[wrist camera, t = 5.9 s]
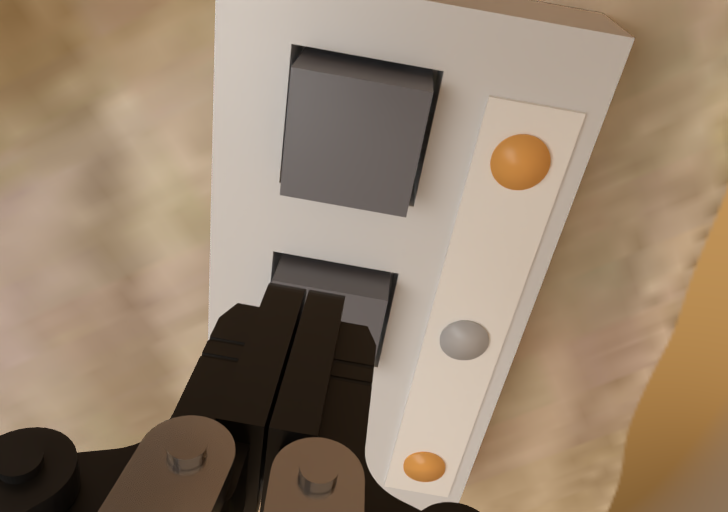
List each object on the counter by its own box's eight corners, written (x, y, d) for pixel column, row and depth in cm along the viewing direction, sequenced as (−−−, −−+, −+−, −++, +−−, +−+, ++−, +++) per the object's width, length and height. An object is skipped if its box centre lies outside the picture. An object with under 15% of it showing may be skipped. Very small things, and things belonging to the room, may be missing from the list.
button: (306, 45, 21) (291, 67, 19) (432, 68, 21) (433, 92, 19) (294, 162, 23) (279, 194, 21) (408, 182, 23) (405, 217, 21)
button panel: (248, -52, 22) (212, -37, 18) (603, 13, 22) (638, 40, 19) (226, 425, 35) (202, 489, 32) (447, 463, 36) (450, 532, 32)
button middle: (286, 242, 25) (272, 280, 23) (391, 261, 25) (387, 300, 23) (278, 324, 28) (264, 366, 25) (374, 341, 28) (369, 385, 25)
